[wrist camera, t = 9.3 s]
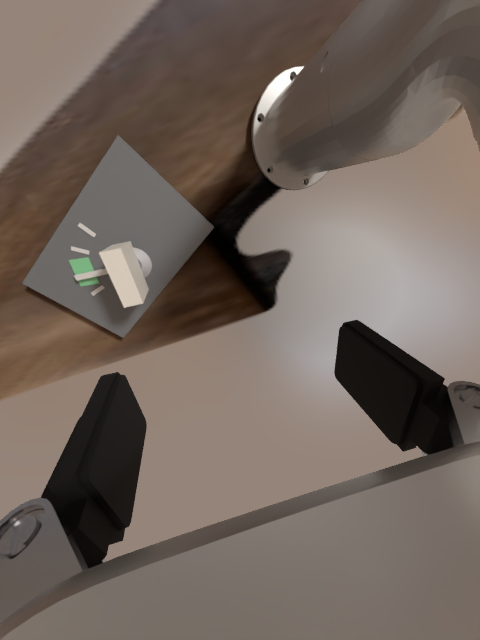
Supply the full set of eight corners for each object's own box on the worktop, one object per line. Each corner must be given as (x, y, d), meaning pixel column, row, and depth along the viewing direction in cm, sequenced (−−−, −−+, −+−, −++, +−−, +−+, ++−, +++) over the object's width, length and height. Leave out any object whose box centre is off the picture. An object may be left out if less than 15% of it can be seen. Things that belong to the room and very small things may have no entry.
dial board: (122, 139, 27) (117, 134, 25) (212, 225, 33) (214, 227, 31) (30, 278, 31) (21, 283, 30) (126, 331, 38) (123, 338, 36)
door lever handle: (63, 252, 29) (32, 266, 23) (133, 238, 30) (120, 248, 24) (88, 299, 32) (66, 321, 26) (150, 284, 33) (143, 303, 27)
